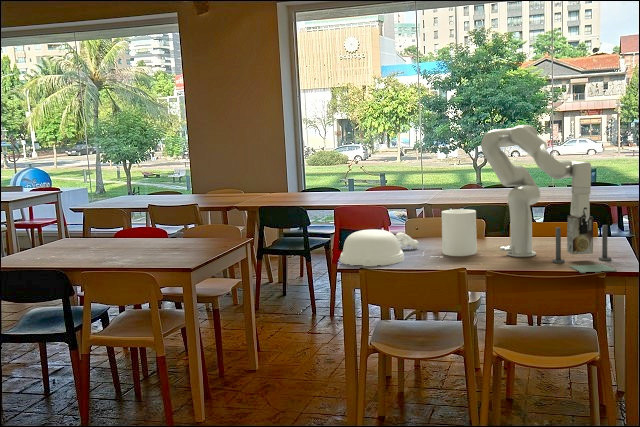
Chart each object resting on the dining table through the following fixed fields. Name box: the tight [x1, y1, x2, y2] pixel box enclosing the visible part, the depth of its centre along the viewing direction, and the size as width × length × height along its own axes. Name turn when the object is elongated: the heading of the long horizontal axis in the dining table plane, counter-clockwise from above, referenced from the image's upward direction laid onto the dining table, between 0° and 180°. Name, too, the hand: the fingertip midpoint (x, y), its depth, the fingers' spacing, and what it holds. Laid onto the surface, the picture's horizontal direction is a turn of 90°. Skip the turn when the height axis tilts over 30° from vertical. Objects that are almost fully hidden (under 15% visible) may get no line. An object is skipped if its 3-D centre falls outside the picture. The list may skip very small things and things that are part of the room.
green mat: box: [569, 263, 617, 274], centre depth 277 cm, size 14×12×1 cm
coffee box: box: [566, 214, 594, 256], centre depth 293 cm, size 9×6×16 cm
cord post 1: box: [551, 226, 566, 264], centre depth 293 cm, size 5×5×15 cm
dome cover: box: [339, 228, 405, 267], centre depth 319 cm, size 32×30×14 cm
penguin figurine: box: [395, 232, 420, 251], centre depth 341 cm, size 6×8×12 cm
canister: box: [441, 208, 478, 257], centre depth 325 cm, size 16×16×20 cm
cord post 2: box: [598, 224, 612, 262], centre depth 293 cm, size 5×5×15 cm
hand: (580, 231), depth 293 cm, fingers closed on coffee box, 6 cm apart
